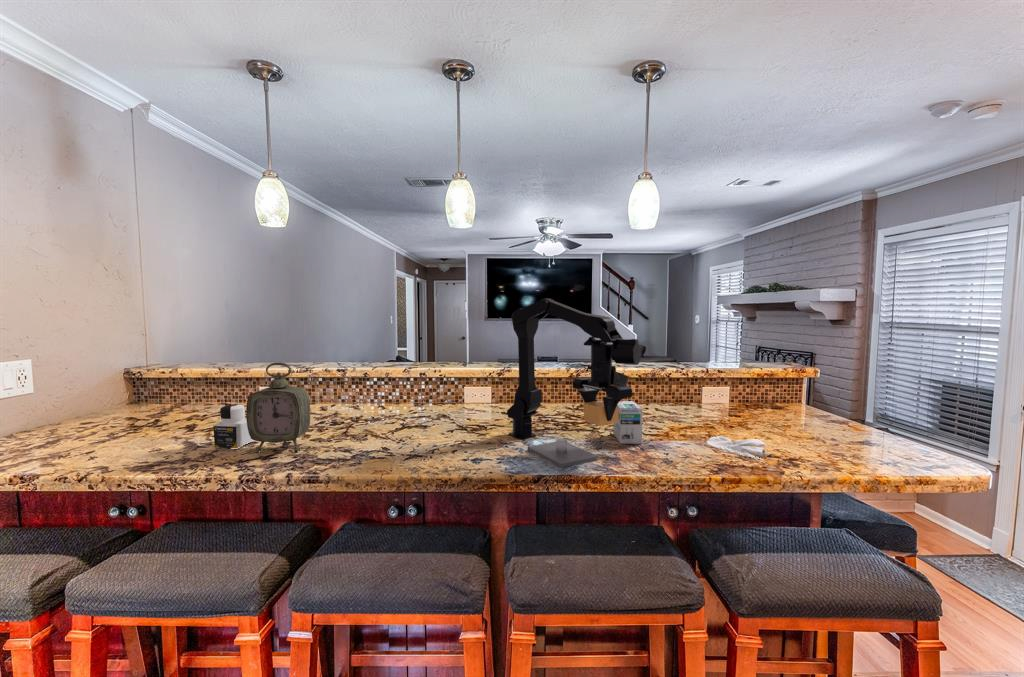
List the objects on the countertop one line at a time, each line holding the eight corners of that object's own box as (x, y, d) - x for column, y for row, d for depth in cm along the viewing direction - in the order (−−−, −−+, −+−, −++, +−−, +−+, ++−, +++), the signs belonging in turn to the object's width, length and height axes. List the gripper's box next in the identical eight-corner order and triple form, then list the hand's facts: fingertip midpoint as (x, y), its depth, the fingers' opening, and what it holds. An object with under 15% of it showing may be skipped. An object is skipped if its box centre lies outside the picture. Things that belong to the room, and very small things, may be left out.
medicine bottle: (214, 449, 130) (211, 407, 130) (232, 441, 138) (230, 402, 137) (236, 450, 130) (234, 408, 129) (253, 442, 137) (252, 403, 136)
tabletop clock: (247, 455, 125) (243, 364, 123) (264, 444, 134) (260, 360, 132) (301, 454, 126) (297, 364, 124) (314, 444, 135) (311, 360, 133)
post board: (527, 450, 129) (527, 436, 128) (562, 443, 134) (562, 430, 134) (561, 467, 115) (561, 452, 114) (597, 459, 121) (598, 444, 120)
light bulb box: (642, 444, 134) (643, 408, 133) (619, 444, 134) (620, 408, 133) (633, 434, 144) (634, 400, 144) (612, 433, 145) (612, 400, 144)
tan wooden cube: (583, 420, 128) (584, 403, 128) (601, 417, 131) (602, 400, 131) (599, 426, 122) (599, 407, 122) (617, 422, 125) (618, 404, 125)
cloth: (703, 436, 143) (703, 429, 143) (782, 444, 136) (783, 436, 136) (707, 457, 124) (708, 448, 124) (800, 467, 117) (801, 458, 116)
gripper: (648, 364, 121) (646, 421, 123) (601, 357, 138) (600, 408, 139) (616, 367, 116) (615, 427, 117) (571, 359, 132) (571, 412, 133)
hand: (600, 418), depth 127 cm, fingers closed on tan wooden cube, 7 cm apart
